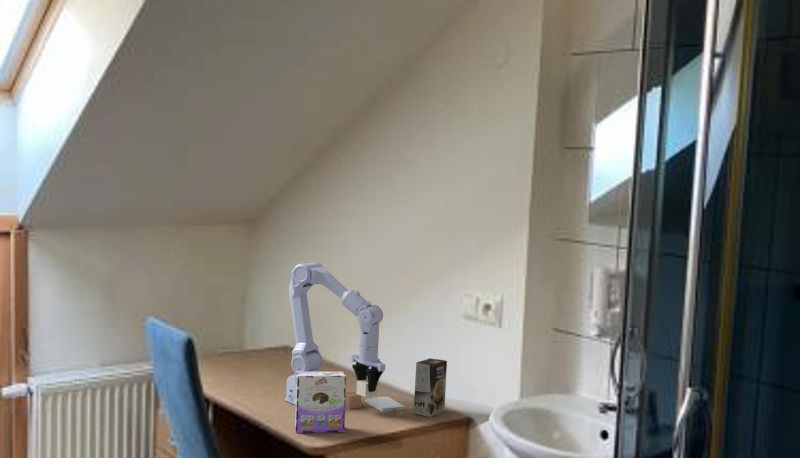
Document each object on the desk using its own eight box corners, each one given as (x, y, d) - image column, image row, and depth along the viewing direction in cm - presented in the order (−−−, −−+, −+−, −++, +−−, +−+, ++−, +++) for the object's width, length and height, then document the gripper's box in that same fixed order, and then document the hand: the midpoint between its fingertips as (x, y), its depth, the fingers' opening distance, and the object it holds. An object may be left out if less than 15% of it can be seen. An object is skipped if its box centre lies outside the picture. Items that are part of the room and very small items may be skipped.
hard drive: (365, 398, 272) (382, 408, 261) (388, 396, 276) (406, 406, 265) (365, 403, 272) (382, 413, 261) (387, 401, 276) (405, 411, 265)
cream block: (365, 397, 256) (365, 384, 256) (356, 393, 260) (356, 380, 259) (377, 395, 259) (377, 382, 259) (368, 391, 263) (368, 379, 262)
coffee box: (430, 417, 257) (433, 365, 256) (412, 413, 261) (415, 362, 260) (445, 411, 265) (448, 360, 264) (427, 407, 268) (430, 357, 267)
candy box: (342, 426, 244) (344, 370, 243) (344, 433, 238) (346, 375, 237) (294, 427, 242) (296, 370, 241) (295, 433, 236) (297, 375, 235)
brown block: (349, 409, 263) (349, 396, 262) (340, 405, 266) (341, 393, 266) (360, 407, 266) (361, 394, 265) (352, 403, 269) (352, 391, 269)
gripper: (394, 348, 255) (391, 393, 256) (365, 339, 266) (363, 382, 267) (375, 351, 251) (373, 396, 252) (346, 341, 262) (344, 385, 263)
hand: (366, 389), depth 259 cm, fingers closed on cream block, 4 cm apart
